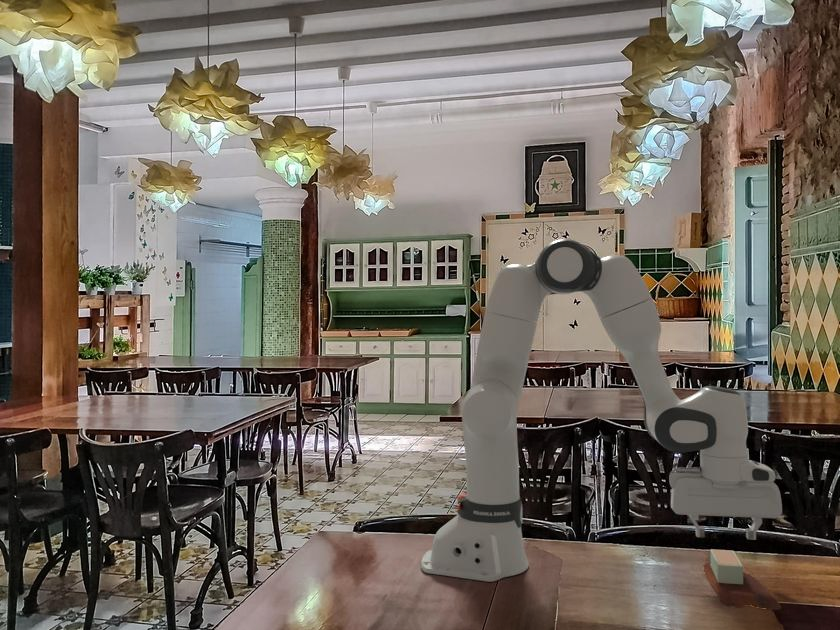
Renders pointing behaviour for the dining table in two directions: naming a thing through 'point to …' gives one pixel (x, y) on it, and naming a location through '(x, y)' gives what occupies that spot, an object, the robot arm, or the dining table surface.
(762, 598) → the wooden tablet
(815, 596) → the dining table surface
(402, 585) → the dining table surface
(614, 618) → the dining table surface
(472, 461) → the robot arm
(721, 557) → the sage card box
